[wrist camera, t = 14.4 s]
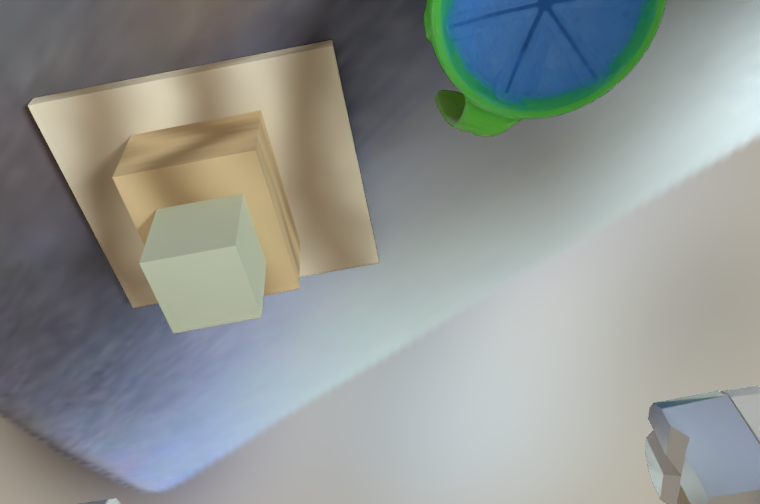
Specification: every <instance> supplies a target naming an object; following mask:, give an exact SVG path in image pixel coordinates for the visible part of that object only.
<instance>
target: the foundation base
mask: <svg viewBox="0 0 760 504" xmlns="http://www.w3.org/2000/svg"><path fill="white" fill-rule="evenodd" d="M28 107H29V109H30V111H31V113H32V115H33V117H34V119H35V121H36V123H37V125H38V127H39V129H40V130H41V132H42V134H43V136H44V138H45V140H46V142H47V144H48V146H49V148H50V150H51V152H52V154H53V155H54V157H55V159H56V161H57V163H58V165H59V167H60V169H61V171H62V173H63V175H64V177H65V178H66V180H67V182H68V184H69V186H70V188H71V190H72V192H73V194H74V196H75V198H76V200H77V202H78V203H79V205H80V207H81V209H82V211H83V213H84V215H85V217H86V219H87V221H88V223H89V225H90V226H91V228H92V230H93V232H94V234H95V236H96V238H97V240H98V242H99V244H100V246H101V248H102V250H103V251H104V253H105V255H106V257H107V259H108V261H109V263H110V265H111V267H112V269H113V271H114V273H115V274H116V276H117V278H118V280H119V282H120V284H121V286H122V288H123V290H124V292H125V294H126V296H127V298H128V299H129V301H130V303H131V305H132V307H133V308H136V307H141V306H147V305H152V304H158V301H157V299H156V297H155V295H154V293H153V291H152V289H151V287H150V285H149V283H148V280H147V278H146V276H145V274H144V272H143V270H142V268H141V266H140V264H139V263H140V259H141V256H142V253H143V250H144V247H145V244H146V241H147V238H148V235H149V232H150V228H151V225H152V222H153V219H154V216H155V213H156V210H157V209H162V208H167V207H173V206H178V205H183V204H188V203H194V202H199V201H204V200H210V199H215V198H220V197H225V196H231V195H236V194H241V193H243V195H244V198H245V201H246V204H247V206H248V209H249V212H250V215H251V218H252V221H253V224H254V227H255V230H256V233H257V236H258V239H259V242H260V244H261V247H262V250H263V253H264V256H265V259H266V274H265V286H264V295H268V294H274V293H279V292H285V291H290V290H295V289H299V283H300V277H304V276H310V275H315V274H321V273H326V272H331V271H337V270H342V269H348V268H353V267H359V266H364V265H369V264H375V263H379V259H378V252H377V248H376V243H375V238H374V234H373V229H372V224H371V220H370V215H369V210H368V206H367V201H366V196H365V192H364V187H363V182H362V178H361V173H360V168H359V164H358V159H357V154H356V150H355V145H354V140H353V135H352V131H351V126H350V121H349V117H348V112H347V107H346V103H345V98H344V93H343V89H342V84H341V79H340V75H339V70H338V65H337V61H336V56H335V51H334V47H333V42H332V40H328V41H323V42H318V43H313V44H308V45H303V46H298V47H293V48H287V49H282V50H277V51H272V52H267V53H262V54H257V55H252V56H247V57H241V58H236V59H231V60H226V61H221V62H216V63H211V64H206V65H201V66H196V67H190V68H185V69H180V70H175V71H170V72H165V73H160V74H155V75H150V76H144V77H139V78H134V79H129V80H124V81H119V82H114V83H109V84H104V85H99V86H93V87H88V88H83V89H78V90H73V91H68V92H63V93H58V94H53V95H47V96H42V97H37V98H33V99H32V100H31V102H30V103H29V104H28Z"/></svg>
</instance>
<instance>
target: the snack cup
mask: <svg viewBox="0 0 760 504" xmlns="http://www.w3.org/2000/svg"><path fill="white" fill-rule="evenodd" d="M666 1H667V0H427V2H426V9H425V12H424V28H425V34H426V38H427V39H428V40H429V41H430V42H431V43H432V46H433V49H434V52H435V55H436V57H437V59H438V61H439V63H440V65H441V66H442V68H443V70H444V72H445V73H446V75H447V76H448V78H449V79H450V80H451V82H452V83H453V84H454V86H455V87H456V88H457V89H458V90H459V91H460V92H461V93H459V92H455V91H450V90H441V91H439V92H438V93H437V95H436V103H437V107H438V109H439V110H440V112H441V114H442V116H443V117H444V118H445V120H446V121H447V122H448V123H449V124H450V125H451V126H453V127H455V128H457V129H460V130H463V131H468V132H472V133H473V134H475V135H479V136H494V135H498V134H500V133H501V132H503V131H506V130H507V129H508V128H510V127H511V126H513V125H514V124H515V123H517V122H518V121H520V120H521V119H524V118H525V119H534V118H545V117H551V116H557V115H561V114H565V113H568V112H571V111H573V110H576V109H578V108H581V107H583V106H585V105H586V104H588V103H590V102H593V101H594V100H596V99H597V98H599V97H601V96H603V95H604V94H606V93H607V92H608V91H609V90H610V89H612V88H613V87H614V86H615V85H616V84H618V83H619V82H620V81H621V80H622V79H623V78H624V77H625V76H626V75H627V74H628V73H629V72H630V71H631V70H632V69H633V67H634V66H635V65H636V64H637V63H638V62H639V60H640V59H641V58H642V56H643V54H644V53H645V52H646V50H647V49H648V47H649V45H650V43H651V41H652V39H653V38H654V36H655V34H656V31H657V29H658V27H659V24H660V22H661V19H662V15H663V12H664V9H665V4H666ZM462 93H463V94H462Z"/></svg>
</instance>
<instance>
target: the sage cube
mask: <svg viewBox="0 0 760 504" xmlns="http://www.w3.org/2000/svg"><path fill="white" fill-rule="evenodd" d="M139 264H140V266H141V268H142V270H143V272H144V274H145V276H146V278H147V280H148V283H149V285H150V287H151V289H152V291H153V293H154V295H155V297H156V299H157V301H158V303H159V305H160V307H161V309H162V311H163V313H164V315H165V317H166V319H167V322H168V324H169V326H170V328H171V330H172V332H173V333H179V332H184V331H190V330H195V329H201V328H206V327H212V326H217V325H222V324H228V323H233V322H239V321H244V320H250V319H255V318H261V317H262V311H263V298H264V286H265V274H266V259H265V256H264V253H263V250H262V247H261V244H260V242H259V239H258V236H257V233H256V230H255V227H254V224H253V221H252V218H251V215H250V212H249V209H248V206H247V204H246V201H245V198H244V195H243V193H241V194H236V195H231V196H225V197H220V198H215V199H210V200H204V201H199V202H194V203H188V204H183V205H178V206H173V207H167V208H162V209H157V210H156V213H155V216H154V219H153V222H152V225H151V228H150V232H149V235H148V238H147V241H146V244H145V247H144V250H143V253H142V256H141V259H140V263H139Z"/></svg>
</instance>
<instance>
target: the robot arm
mask: <svg viewBox="0 0 760 504" xmlns="http://www.w3.org/2000/svg"><path fill="white" fill-rule="evenodd" d="M648 419H649V422H650V424H651V426H652V428H653V431H652V432H651V433H650V434H649V436H647V437H646V449H645V454H646V459H647V465H648V470H649V473H650V476H651V479H652V482H653V485H654V487H655V489H656V491H657V494H658V496H659V498H660V500H662V501H663V502H664V503H666V504H760V387H759V386H757V385H751V386H746V387H740V388H735V389H730V390H725V391H720V392H719V391H713V392H708V393H703V394H697V395H692V396H687V397H682V398H676V399H671V400H666V401H661V402H656V403H653V404H652V405H651V407H650V409H649V417H648ZM81 504H120V502H119V501H118V500H117V499H116V498H112V499H106V500H99V501H93V502H87V503H81Z"/></svg>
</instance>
